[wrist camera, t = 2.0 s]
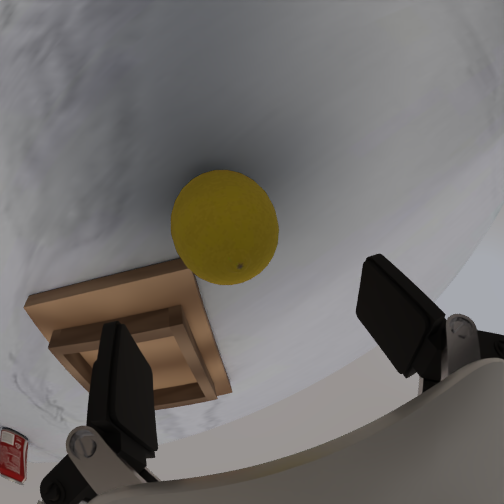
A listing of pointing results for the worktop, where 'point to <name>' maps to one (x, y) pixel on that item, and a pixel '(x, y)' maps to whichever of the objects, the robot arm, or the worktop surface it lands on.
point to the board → (138, 329)
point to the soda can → (13, 456)
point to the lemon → (224, 227)
